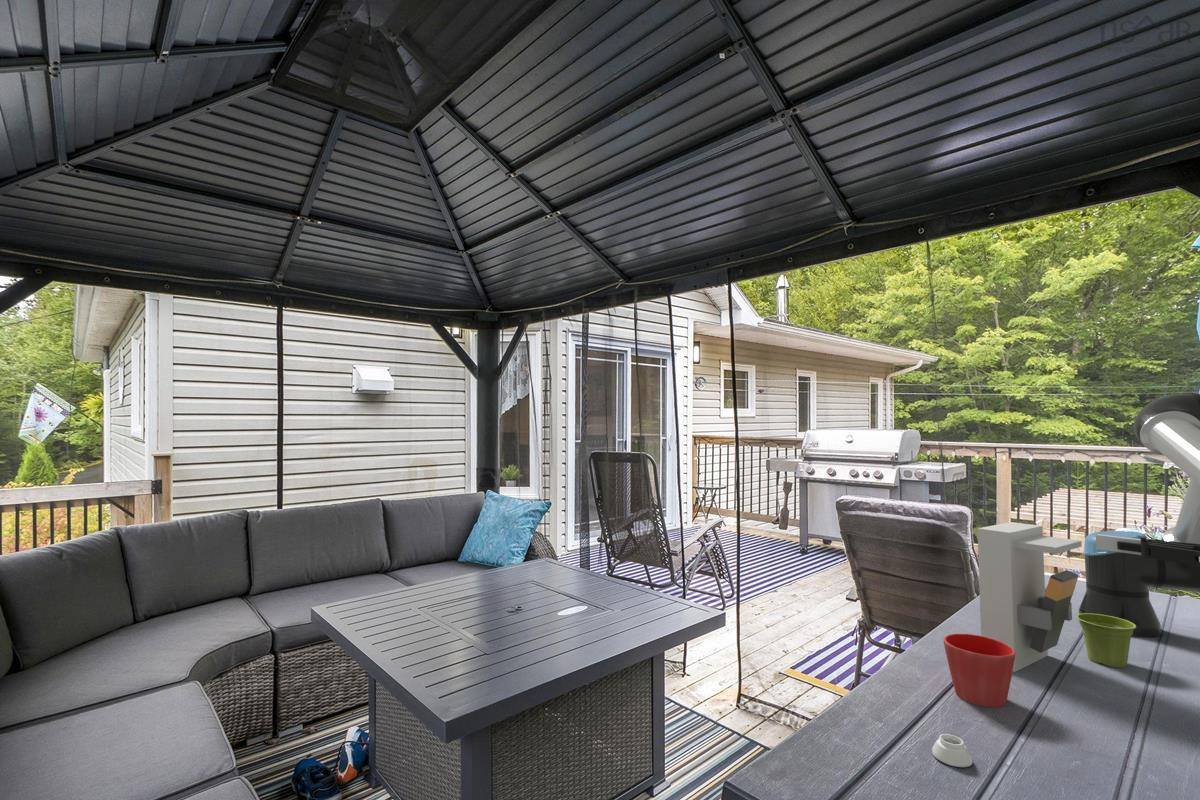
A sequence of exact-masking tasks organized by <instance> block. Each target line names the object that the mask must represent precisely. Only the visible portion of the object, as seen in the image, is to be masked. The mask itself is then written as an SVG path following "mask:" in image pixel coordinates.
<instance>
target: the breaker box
mask: <svg viewBox="0 0 1200 800" xmlns="http://www.w3.org/2000/svg"><path fill="white" fill-rule="evenodd" d="M1043 532H1044V531H1043V525H1039V524H1029V523H1021V522H1014V521H1009V522H1004V523H998V524H994V525H988V526H984V527H978V528H977V547H978V548H977V552H978V553H977V555H978V578H979V586H978V588H979V607H980V608H979V613H980V636H984V637H988V638H992V639H995V640H998V641H1001V642H1003V643H1005V644H1007V645H1009V646H1010V647H1012V648H1013V649H1014V651H1015V660H1014V666H1013V671H1012V673H1016V672H1019V671H1020V670H1022V669H1025V668H1026V667H1028V666H1030V665H1032V664H1034V663H1036V662H1038V661H1039V660H1042V659H1044V658H1045V657H1047V656H1048V653H1049V652H1048V651H1049V649H1048V650H1046V651H1044V652H1042V653H1040V652H1038V651H1036V650H1034V649H1032V648H1030V644H1031V640H1032V637H1033V634H1034V630H1035V627H1037V628H1041V629H1045V630H1050V629H1052V624H1051V611H1049V610H1044V609H1041V607H1042V604H1043V600H1044V597H1045V592H1046V583H1045V582H1046V579H1045V577H1046V576H1045V559H1044V557H1045V556H1044V555H1045V553H1047V554H1048V553H1049V554H1055V555H1058V554H1061V553H1064V552H1068V551H1071V550H1075V549H1079V548H1081V547H1083V546H1082V545H1083V543H1082V540H1079V539H1070V538H1063V537H1057V536H1056V537H1054V536H1048V535H1044V533H1043ZM1072 609H1073V606H1072V602H1071V601H1070V604H1069V607H1068V611H1067V614H1066V617H1065V620H1064V621H1068V622H1070V621H1072V620H1073V612H1072Z"/></svg>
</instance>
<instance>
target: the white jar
mask: <svg viewBox="0 0 1200 800" xmlns="http://www.w3.org/2000/svg"><path fill="white" fill-rule="evenodd" d="M931 753H932V755H933V756H934V757H935V758H936V759H937V760H939V761H940V762H942V763H943V764H945V765H948V766H951V767H956V768H968V767H971V766H972V764H973V758H972V756H971V753H969V750H968V748H967V746H966V745H965V743H964V740H963V739H961V738H960V737H958V736H956V735H953V734H949V733H943V734H942V733H941V734H940V735H939V737H938V739H936V741H935V743H934V744H933V746H932V747H931Z"/></svg>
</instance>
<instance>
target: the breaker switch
mask: <svg viewBox="0 0 1200 800" xmlns="http://www.w3.org/2000/svg"><path fill="white" fill-rule="evenodd" d="M1048 579H1049V580H1048V582H1047V585H1046V586H1047V587H1046V588H1045V597H1044V600H1043V604H1042V607H1041V609H1044V610H1049V611H1051V624H1052V629H1050V630H1045V629H1041V628H1037V627H1035V630H1034V634H1033V637H1032V640H1031V644H1030V648H1032V649H1034V650H1036V651H1038V652H1040V653H1042V652H1044V651H1046V650H1048V651H1049V650H1050V649H1051V648H1052V649H1053V647H1056V646H1058V644H1059V643H1058V642H1059V640H1060V637H1061V633H1062V629H1063V627H1064V623H1065V621H1066V620H1065V617H1066V614H1067V611H1068V607H1069V604H1070V602H1071V600H1072V597H1073V595H1074V592H1075V589H1076V586H1077V585H1076V584H1077V582H1078V579H1079V574H1078V573H1075V572H1072V571H1070V570H1068V569H1066V570H1063V571H1059V572H1057V573H1054V574H1051V575H1050V577H1049V578H1048Z"/></svg>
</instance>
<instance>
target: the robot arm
mask: <svg viewBox="0 0 1200 800" xmlns="http://www.w3.org/2000/svg"><path fill="white" fill-rule="evenodd" d="M1133 432H1134V434H1135V435H1134V436H1136V439H1137V441H1139V443H1140V444H1141V445H1142V446H1144V447H1145V448H1146V449H1147V450H1148V451H1150V452H1151V453H1154V454H1157V455H1161V456H1165V458H1167V460H1169V461H1170V462H1171V463H1172V464H1174V465H1175V466H1176V467H1177V468H1179V470H1180V471H1182V472H1183V473H1184V474H1186V475H1187V476H1188V477H1189V478H1190V479H1189V482H1188V486H1187V488H1186V492H1185V494H1184V495H1185V496H1184V498H1183V500H1182V501H1183V502H1182V504H1181V508H1180V511H1179V514H1178V517H1177V520H1176V524H1175V526H1172V527H1169V528H1168V529H1166V530H1165V531H1164V532H1163V535H1162V539H1153V538H1152V539H1150V538H1148V537H1147V536H1146V534H1144V533H1142V532H1138V531H1125V530H1106V531H1104V530H1103V531H1097V532H1096V531H1095V532H1091V533H1089V534H1087V535H1086V536H1085V539H1084V546H1083V547H1084V548H1083V554H1084V564H1085V565H1084V566H1085V587H1086V588H1085V590H1086V591H1085V593H1084V595H1083V598H1082V600H1081V603H1080V606H1079V608H1078V614H1084V613H1090V614H1101V615H1107V616H1113V617H1117V618H1121V619H1124V620H1127V621H1130V622H1132V623H1134V624H1135V625H1136V629H1134V630H1133V634H1132V635H1131V637H1134V636H1135V637H1143V638H1144V637H1147V638H1149V637H1159V636H1161V635H1162V627H1161V626H1162V624H1161V622H1160V620H1159V617H1158V616H1157V614H1156V611H1155V609H1154V606H1153V605H1152V603H1151V600H1150V588H1154V589H1155V588H1156V589H1164V590H1175V591H1182V592H1192V593H1193V592H1195V593H1200V393H1177V394H1170V395H1165V396H1162V397H1160V398H1157V399H1155V400H1153V401H1151V402H1149V403H1148V404H1146V405H1145V406H1144V407H1143V408H1141V409H1140V410H1139V412H1138V413H1137V415H1136V416H1135V419H1134V422H1133Z"/></svg>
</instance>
